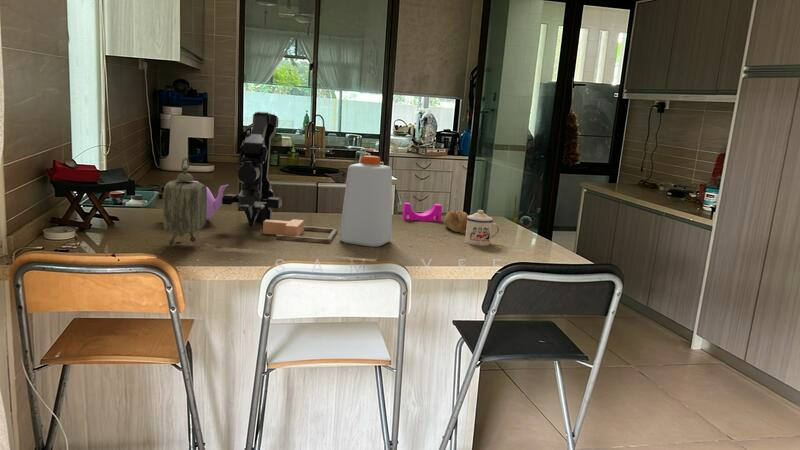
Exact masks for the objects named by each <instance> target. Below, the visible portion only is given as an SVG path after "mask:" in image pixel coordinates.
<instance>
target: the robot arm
mask: <svg viewBox="0 0 800 450" xmlns="http://www.w3.org/2000/svg"><path fill="white" fill-rule="evenodd" d="M252 125H253V126H252V128H251V130H250V131H251V132H250V135H249V136H247V137H245V138H244V141H243V144H241V147H240V150H239V151H240V152H239V156H238V163H239V164H240V163H241V164H243V166H241V167H240V168H239V169H238V171H237V177H238V179H239V180H240V181H241V183H242V187H241V188H242V189H241V190H240V192H239V194H236V193H227V194H223V197H222V204H221V205H229V206H231V205H233V204H234V203H236V204H237V203H238V204H239V206H238V207H239V209H241V210H242V211H244V213H245V215H246V219H247V222H248V225H249V227H251V228H253V227H254V225H255V223H256V224H263V221H265V220H266V219H267V220H273V219H272V217H273V216H272V215H273V209H279V208H281V207H282V206H283V200H282V198H281V197H277V196H276V197H275V193H274V191H273V189H272V188H273V187H272V184H271V182H270V180H269V171H270V170H269V168H270V155H271V143H272V141H271V140H272V139H273V137H274V136H275V134H276V132H277V128H278V127H279V117H278V116H277V115H276V114H274V113H270V112H269V111H255V112H254V113H253V114H252Z"/></svg>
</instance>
